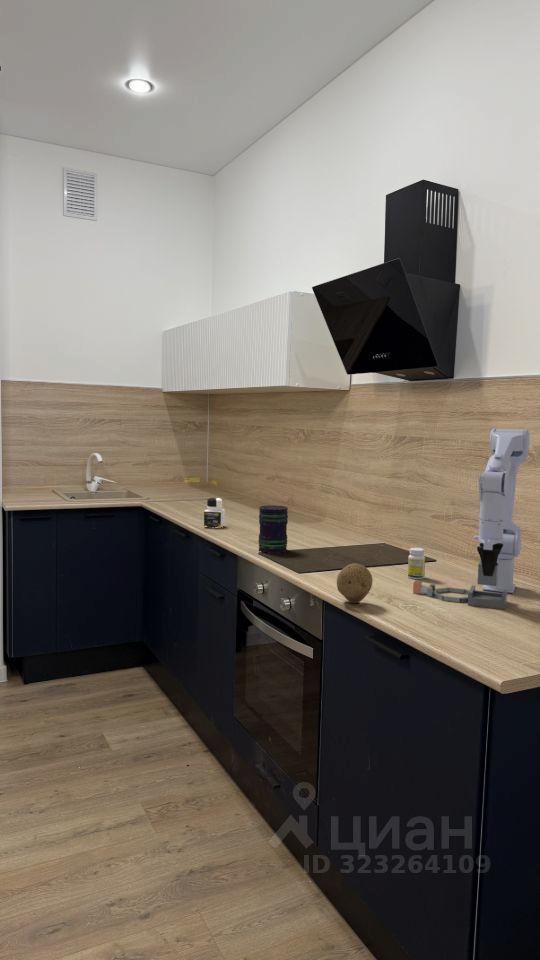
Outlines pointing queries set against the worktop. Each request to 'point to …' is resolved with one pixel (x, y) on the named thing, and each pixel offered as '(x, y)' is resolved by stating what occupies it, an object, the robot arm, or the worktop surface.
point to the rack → (487, 598)
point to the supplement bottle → (416, 563)
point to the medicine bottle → (214, 513)
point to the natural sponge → (354, 582)
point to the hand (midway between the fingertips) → (488, 573)
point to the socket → (435, 592)
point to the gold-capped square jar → (487, 579)
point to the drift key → (420, 588)
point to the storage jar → (273, 529)
